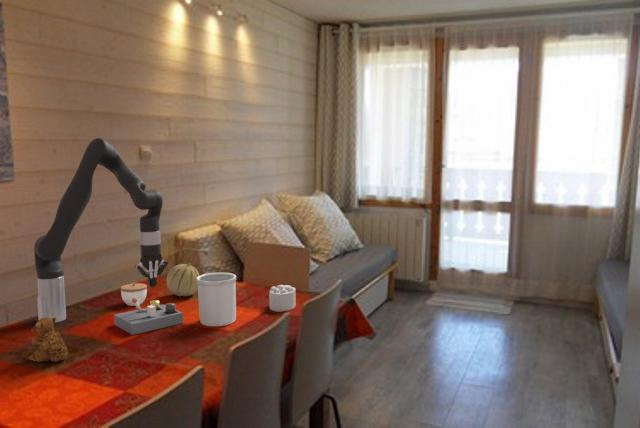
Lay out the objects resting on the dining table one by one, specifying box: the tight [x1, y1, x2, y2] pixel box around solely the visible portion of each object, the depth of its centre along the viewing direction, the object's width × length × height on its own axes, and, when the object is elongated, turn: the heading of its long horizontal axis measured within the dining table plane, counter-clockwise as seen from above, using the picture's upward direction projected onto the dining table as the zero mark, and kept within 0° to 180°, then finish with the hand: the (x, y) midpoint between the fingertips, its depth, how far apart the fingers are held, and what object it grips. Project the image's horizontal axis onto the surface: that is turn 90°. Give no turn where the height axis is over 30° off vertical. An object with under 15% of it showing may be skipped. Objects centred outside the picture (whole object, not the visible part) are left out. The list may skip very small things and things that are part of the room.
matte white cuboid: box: [146, 305, 156, 317], centre depth 207 cm, size 2×3×4 cm, turn 42°
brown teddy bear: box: [28, 317, 69, 363], centre depth 175 cm, size 10×14×13 cm
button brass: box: [149, 299, 161, 310], centre depth 216 cm, size 4×4×3 cm
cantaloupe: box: [166, 262, 200, 297], centre depth 251 cm, size 15×15×15 cm
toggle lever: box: [132, 298, 142, 311], centre depth 212 cm, size 2×2×6 cm
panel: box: [113, 304, 184, 336], centre depth 211 cm, size 20×16×4 cm
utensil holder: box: [197, 272, 237, 327], centre depth 213 cm, size 15×15×18 cm
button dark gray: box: [164, 302, 176, 313], centre depth 212 cm, size 4×4×3 cm
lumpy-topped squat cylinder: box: [268, 284, 297, 313], centre depth 232 cm, size 10×13×9 cm
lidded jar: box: [120, 281, 148, 307], centre depth 239 cm, size 11×11×9 cm
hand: (152, 286), depth 214 cm, fingers closed
